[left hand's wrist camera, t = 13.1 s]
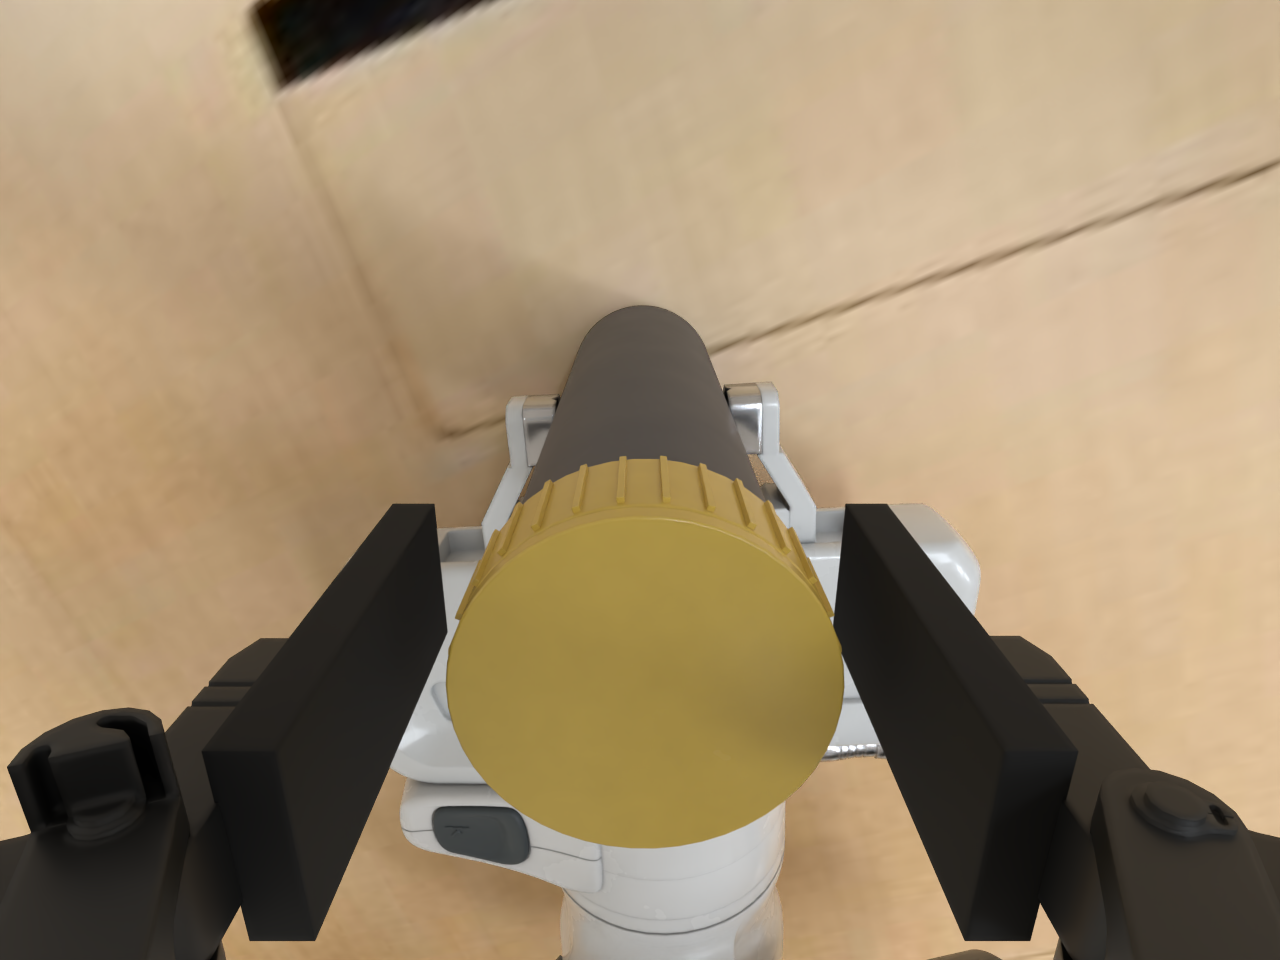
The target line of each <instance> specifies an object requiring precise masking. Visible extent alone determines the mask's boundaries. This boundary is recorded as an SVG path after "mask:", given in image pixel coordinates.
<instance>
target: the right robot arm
mask: <svg viewBox="0 0 1280 960" xmlns="http://www.w3.org/2000/svg"><path fill="white" fill-rule="evenodd" d="M723 394H724V396H725V399H726V402H727V404H728V407H729V409H730V412H731V414H732V417H733V419H734V422H735V425H736V427H737V430H738V432H739V435H740V437H741V440H742V443H743V445H744V448H745V450H746V453H747V454H757V455H758V457H759V459H760V460H761V462H762V464H763V465H764V467H765V468H766V470H767V471H768V473H769V475H770V476H771V478H772V479H773V481H774V483H766V484H763V485H762V486H761V487H760V489H761V491H762V494H763V496H764V499H765V502H766V501H767V500H769V501H770V502H771V503H772V504H773V507H774V509H775V512H776V514H777V515H778V517H779V518H780V519H781V520H782V522H783V523H784V524H785V526H786V527H787V528H788V529H789V528H791V527H793V528H794V530H795V531H796V534H797V536H798V538H799V540H800V543H801V545H802V547H803V549H804V552H805V554H806V556H807V558H808V557H809V558H810V561H811V563H812V565H813V567H814V570H815V572H816V574H817V576H818V578H819V581H820V583H821V585H822V587H823V590H824V592H825V594H826V596H827V599H828V601H829V603H830V605H831V608H832V610H833V612H834V610H835V600H836V591H837V581H838V572H839V562H840V553H841V543H842V534H843V524H844V514H845V507H832V508H816V505H815V503H814V501H813V499H812V497H811V496H810V494H809V492H808V490H807V488H806V486H805V484H804V483H803V481H802V479H801V477H800V476H799V474H798V473H797V471H796V469H795V468H794V466H793V464H792V463H791V461H790V460H789V458H788V456H787V455H786V453H785V452H784V450H783V448H782V447H781V445H780V444H779V428H780V404H779V397H778V391H777V389H776V388H775V386H774V385H773V383H772V382H760V383H743V384H729V385H724V387H723ZM559 402H560V395H559V394H558V395H534V396H527V395H525V396H515V397H511V399H510V400H509V402H508V404H507V405H506V430H507V438H508V446H509V454H510V463H509V465H508V467H507V469H506V471H505V473H504V476H503V478H502V480H501V482H500V484H499V486H498V489H497V491H496V493H495V495H494V497H493V499H492V502H491V504H490V506H489V508H488V510H487V512H486V514H485V517H484V519H483V521H482V523H481V525H482V526H470V527H451V528H437V534H438V543H439V553H440V562H441V572H442V581H443V591H444V601H445V610H446V620H447V629H448V633H447V635H446V638H445V640H444V642H443V645H442V647H441V649H440V652H439V654H438V656H437V659H436V661H435V663H434V666H433V668H432V670H431V673H430V675H429V677H428V679H427V682H426V684H425V686H424V689H423V691H422V693H421V696H420V698H419V700H418V703H417V705H416V707H415V710H414V712H413V714H412V717H411V719H410V721H409V724H408V726H407V728H406V731H405V733H404V735H403V738H402V740H401V742H400V745H399V747H398V749H397V752H396V754H395V756H394V759H393V761H392V763H391V766H390V768H391V769H392V770H394V771H395V772H397V773H399V774H401V775H403V776H405V777H407V779H406V782H405V787H404V791H403V796H402V800H401V805H400V812H399V813H400V823H401V828H402V831H403V834H404V836H405V837H406V839H407V840H408V841H409V842H410V843H411V844H413V845H414V846H416V847H418V848H420V849H423V850H426V851H430V852H434V853H439V854H444V855H449V856H454V857H460V858H464V859H469V860H474V861H478V862H483V863H487V864H491V865H495V866H499V867H503V868H506V869H510V870H514V871H517V872H520V873H524V874H527V875H530V876H533V877H536V878H539V879H541V880H544V881H546V882H549V883H552V884H554V885H557V886H559V887H561V888H562V890H563V892H564V897H563V902H562V907H561V915H560V938H561V947H562V955H563V957H562V956H561V955H560V956H559V957H558V958H557V959H556V960H783V936H784V923H783V912H782V905H781V901H780V897H779V893H778V890H777V887H776V882H777V880H778V877H779V874H780V871H781V867H782V863H783V858H784V848H785V801H784V802H783V803H781V804H780V805H779V806H777V807H776V808H774V809H773V810H772V811H770V812H769V813H768V814H766V815H764V816H763V817H761V818H759V819H757V820H756V821H754V822H752V823H750V824H748V825H747V826H744V827H742V828H740V829H737V830H735V831H733V832H730V833H728V834H726V835H723V836H719V837H716V838H713V839H710V840H706V841H703V842H698V843H693V844H688V845H683V846H677V847H667V848H656V849H647V848H623V847H614V846H606V845H601V844H596V843H592V842H587V841H583V840H580V839H577V838H574V837H571V836H567V835H564V834H562V833H559V832H557V831H555V830H552V829H550V828H548V827H546V826H543V825H541V824H539V823H538V822H536V821H534V820H533V819H531V818H529V817H527V816H526V815H524V814H522V813H521V812H519V811H518V810H517V809H515V808H514V807H513V806H511V805H510V804H509V803H507V802H506V801H505V800H503V799H502V798H501V797H500V796H499V795H498V794H497V793H496V792H495V791H494V790H493V789H492V788H491V787H490V786H489V785H488V784H487V783H486V782H485V781H484V780H483V778H482V777H481V776H480V775H479V773H478V772H477V771H476V770H475V768H474V767H473V766H472V764H471V762H470V761H469V759H468V757H467V756H466V754H465V752H464V751H463V749H462V747H461V745H460V742H459V740H458V738H457V735H456V733H455V731H454V728H453V724H452V721H451V717H450V713H449V709H448V703H447V693H446V670H447V660H448V656H449V655H448V648H449V646H450V644H451V641H452V639H453V636H454V634H455V631H456V629H457V626H458V624H459V621H460V620H457V619H455V616H456V613H457V611H458V608H459V606H460V604H461V601H462V599H463V597H464V594H465V592H466V590H467V587H468V585H469V583H470V580H471V578H472V576H473V573H474V571H475V569H476V566H477V564H478V562H479V560H481V559H482V557H483V554H484V552H485V550H486V547H487V545H488V542H489V540H490V538H491V535H492V533H493V532H494V530H495V529H497V530H498V531H500V530H501V529H502V527H503V526H504V525H505V523H506V522H507V521H508V520H509V518H510V517H511V515H512V512H513V510H514V507H515V505H516V504H517V503H518V502H521V503H522V501H523V499H524V496H522V497H521V498H520V499H519V500H518V498H519V496H520V493H521V491H522V489H523V487H524V485H525V483H526V481H527V478H528V476H529V474H530V472H531V470H532V468H533V466H536V464H537V461H538V458H539V456H540V453H541V450H542V448H543V445H544V442H545V439H546V437H547V434H548V431H549V429H550V426H551V423H552V421H553V418H554V415H555V413H556V410H557V407H558V405H559ZM888 506H889V507H890V508H891V510H892V511H893V512H894V514H895V515H896V516H897V517H898V519H899V520H900V521H901V523H902V524H903V525H904V526H905V528H906V529H907V530H908V532H909V533H910V534H911V535H912V537H913V538H914V539H915V541H916V542H917V543H918V544H919V546H920V547H921V548H922V550H923V551H924V552H925V554H926V555H927V556H928V557H929V559H930V560H931V561H932V563H933V564H934V565H935V566H936V568H937V569H938V570H939V572H940V573H941V574H942V575H943V577H944V578H945V579H946V581H947V582H948V583H949V584H950V586H951V587H952V588H953V590H954V591H955V592H956V594H957V595H958V596H959V597H960V599H961V600H962V601H963V603H964V604H965V605H966V606H967V608H968V609H969V610H970V612H971V613H972V614H973V615H974V614H975V609H976V604H977V599H978V594H979V587H980V580H981V571H980V566H979V562H978V560H977V558H976V556H975V554H974V552H973V551H972V550H971V548H970V547H969V545H968V544H967V543H966V541H965V540H964V539H963V538H962V536H961V535H960V534H959V533H958V532H957V530H956V529H955V528H954V527H953V526H952V525H951V524H950V523H948V522H947V521H946V520H945V519H944V518H943V517H942V516H941V515H940V514H939V513H937V512H936V511H935V510H934V509H933V508H931V507H930V506H928V505H926V504H921V503H907V504H888ZM357 550H358V549H357ZM353 555H354V554H353ZM353 555H352V556H353ZM352 556H351V557H352ZM351 557H350V558H349V560H350V559H351ZM349 560H348V561H349ZM348 561H347V562H346V564H347V563H348ZM346 564H345V565H346ZM345 565H344V566H345ZM343 568H344V567H343ZM343 568H342V569H343ZM340 572H341V571H340ZM340 572H339V573H340ZM830 620H831V622H832V625H833V620H834V616H833V617H830ZM842 659H843V656H842ZM843 664H844V687H845V688H844V696H843V704H842V710H841V714H840V717H839V721H838V725H837V728H836V731H835V734H834V736H833V738H832V740H831V742H830V745H829V747H828V749H827V751H826V753H825V754H824V756H823V758H822V759H821V761H820V762H830V761H838V760H839V759H840V760H844V759H847V758H848V759H849V758H854V757H855V758H857V757H862V756H863V757H874V758H876V759H886V756H885V754H884V752H883V749H882V747H881V745H880V742H879V740H878V738H877V735H876V733H875V731H874V728H873V726H872V724H871V721H870V719H869V717H868V714H867V712H866V710H865V707H864V705H863V703H862V700H861V698H860V696H859V693H858V691H857V689H856V687H855V684H854V682H853V680H852V677H851V675H850V673H849V670H848V668H847V666H846V663H845V661H844V659H843ZM928 960H1002V959H1000V958H998V957H996V956H995V955H993V954H991V953H988V952H986V951H982V950H968V951H963V952H959V953H955V954H950V955H946V956H941V957H937V958H933V959H928Z"/></svg>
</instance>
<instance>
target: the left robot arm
mask: <svg viewBox="0 0 1280 960" xmlns="http://www.w3.org/2000/svg"><path fill="white" fill-rule="evenodd" d="M833 627H834V630H835V632H836V635H837V637H838V639H839V642H840V644H841V646H842V652H841V654H842V656H843V659H844V661H845V663H846V666H847V668H848V670H849V673H850V675H851V677H852V680H853V682H854V684H855V687H856V689H857V691H858V693H859V696H860V698H861V700H862V703H863V705H864V707H865V710H866V712H867V714H868V717H869V719H870V721H871V724H872V726H873V728H874V731H875V733H876V735H877V738H878V740H879V742H880V745H881V747H882V749H883V752H884V754H885V756H886V759H887V761H888V763H889V766H890V768H891V770H892V773H893V775H894V777H895V780H896V782H897V784H898V787H899V789H900V791H901V794H902V796H903V798H904V801H905V803H906V805H907V807H908V810H909V812H910V814H911V817H912V819H913V821H914V824H915V826H916V828H917V831H918V833H919V835H920V838H921V840H922V842H923V845H924V847H925V849H926V852H927V854H928V856H929V859H930V861H931V863H932V866H933V868H934V870H935V873H936V875H937V877H938V880H939V882H940V884H941V887H942V889H943V891H944V894H945V896H946V898H947V901H948V903H949V905H950V908H951V910H952V912H953V914H954V917H955V919H956V921H957V924H958V926H959V928H960V931H961V933H962V935H963V938H964V940H965V941H1030V940H1031V936H1032V932H1033V928H1034V924H1035V920H1036V916H1037V913H1038V909H1039V905H1040V903H1041V905H1042V907H1043V909H1044V911H1045V912H1046V914H1047V916H1048V918H1049V920H1050V921H1051V923H1052V925H1053V927H1054V929H1055V930H1056V932H1057V934H1058V936H1059V940H1058V944H1057V948H1056V951H1055V955H1054V959H1053V960H1280V838H1279V837H1274V836H1270V835H1265V834H1261V833H1257V832H1253V831H1250V830H1248V829H1247V828H1246V826H1245V825H1244V823H1243V822H1242V821H1241V819H1240V818H1239V816H1238V815H1237V813H1236V812H1235V811H1233V810H1232V809H1231V808H1230V807H1229V806H1227V805H1226V804H1225V803H1224V802H1222V801H1221V800H1220V799H1219V798H1218V797H1216V796H1215V795H1214V794H1212V793H1210V792H1208V791H1207V790H1205V789H1203V788H1201V787H1199V786H1197V785H1195V784H1194V783H1192V782H1190V781H1188V780H1186V779H1183V778H1180V777H1177V776H1174V775H1171V774H1168V773H1165V772H1162V771H1157V770H1150V769H1149V767H1148V766H1147V765H1146V764H1145V763H1144V762H1143V761H1142V759H1141V758H1140V757H1139V756H1138V755H1137V754H1136V753H1135V751H1134V750H1133V749H1132V748H1131V747H1130V746H1129V745H1128V743H1127V742H1126V741H1125V740H1124V739H1123V738H1122V737H1121V735H1120V734H1119V733H1118V732H1117V731H1116V730H1115V728H1114V727H1113V726H1112V725H1111V724H1110V723H1109V722H1108V720H1107V719H1106V718H1105V717H1104V716H1103V715H1102V714H1101V712H1100V711H1099V710H1098V709H1097V708H1096V707H1095V706H1094V704H1089V699H1088V698H1087V696H1086V695H1085V694H1084V693H1083V692H1082V691H1081V690H1080V688H1079V687H1078V686H1077V685H1076V684H1072V679H1071V678H1070V677H1069V676H1068V675H1067V674H1066V672H1065V671H1064V670H1063V669H1062V668H1061V667H1060V666H1059V664H1058V663H1057V662H1056V661H1055V660H1054V659H1053V657H1052V656H1050V655H1049V654H1047V653H1046V652H1044V651H1043V650H1041V649H1039V648H1038V647H1036V646H1035V645H1033V644H1032V643H1030V642H1028V641H1027V640H1025V639H1024V638H1022V637H1021V636H989V635H988V634H987V632H986V631H985V630H984V628H983V627H982V626H981V624H980V623H979V622H978V621H977V619H976V618H975V617H974V615H973V614H972V613H971V612H970V610H969V609H968V608H967V606H966V605H965V604H964V603H963V601H962V600H961V599H960V597H959V596H958V595H957V594H956V592H955V591H954V590H953V588H952V587H951V586H950V584H949V583H948V582H947V581H946V579H945V578H944V577H943V575H942V574H941V573H940V572H939V570H938V569H937V568H936V566H935V565H934V564H933V563H932V561H931V560H930V559H929V557H928V556H927V555H926V554H925V552H924V551H923V550H922V548H921V547H920V546H919V544H918V543H917V542H916V541H915V539H914V538H913V537H912V535H911V534H910V533H909V532H908V530H907V529H906V528H905V526H904V525H903V524H902V523H901V521H900V520H899V519H898V517H897V516H896V515H895V514H894V512H893V511H892V510H891V508H890V507H889V506H888V504H846V505H845V514H844V524H843V534H842V543H841V553H840V562H839V572H838V581H837V591H836V600H835V610H834V620H833ZM447 633H448V629H447V620H446V610H445V601H444V591H443V581H442V572H441V562H440V553H439V543H438V534H437V524H436V515H435V505H434V504H392V506H391V507H390V508H389V510H388V511H387V512H386V513H385V515H384V516H383V517H382V519H381V520H380V521H379V523H378V524H377V525H376V526H375V528H374V529H373V530H372V532H371V533H370V534H369V535H368V537H367V538H366V539H365V541H364V542H363V543H362V544H361V546H360V547H359V548H358V550H357V551H356V552H355V553H354V555H353V556H352V557H351V559H350V560H349V561H348V563H347V564H346V565H345V566H344V568H343V569H342V570H341V572H340V573H339V574H338V575H337V577H336V578H335V579H334V581H333V582H332V583H331V584H330V586H329V587H328V588H327V590H326V591H325V592H324V593H323V595H322V596H321V597H320V599H319V600H318V601H317V603H316V604H315V605H314V606H313V608H312V609H311V610H310V612H309V613H308V614H307V615H306V617H305V618H304V619H303V621H302V622H301V623H300V624H299V626H298V627H297V628H296V630H295V631H294V632H293V633H292V635H291V636H290V637H289V638H261V639H259V640H257V641H256V642H254V643H253V644H251V645H250V646H248V647H247V648H245V649H243V650H242V651H240V652H239V653H237V654H236V655H234V656H232V657H231V658H229V659H228V661H227V662H226V663H225V664H224V665H223V666H222V668H221V669H220V670H219V671H218V672H217V673H216V674H215V676H214V677H213V678H212V679H211V680H210V681H209V686H208V687H204V688H203V689H202V691H201V692H200V693H199V694H198V695H197V696H196V698H195V699H194V700H193V701H192V706H191V707H187V708H186V709H185V710H184V711H183V712H182V714H181V715H180V716H179V717H178V718H177V719H176V721H175V722H174V723H173V724H172V725H171V726H170V727H169V729H168V730H167V731H166V732H164V728H163V725H162V721H161V719H160V718H158V717H157V716H156V715H154V714H153V713H152V712H150V711H148V710H141V709H135V708H120V709H111V710H102V711H99V712H95V713H92V714H89V715H85V716H82V717H78V718H75V719H72V720H70V721H68V722H66V723H64V724H62V725H60V726H57V727H55V728H53V729H51V730H49V731H47V732H45V733H43V734H42V735H41V736H39V737H38V738H37V739H35V740H34V741H32V742H31V743H30V744H28V745H27V746H25V747H24V748H23V749H21V750H20V752H19V753H18V754H17V755H16V757H15V758H14V759H13V760H12V761H11V763H10V764H9V765H8V766H7V769H8V771H9V774H10V777H11V779H12V782H13V785H14V788H15V790H16V793H17V796H18V798H19V801H20V804H21V806H22V809H23V812H24V814H25V817H26V820H27V823H28V825H29V828H30V831H31V834H28V835H25V836H21V837H16V838H12V839H8V840H3V841H0V960H226V957H225V951H224V948H223V944H222V938H223V936H224V934H225V933H226V931H227V929H228V927H229V925H230V924H231V922H232V920H233V918H234V916H235V915H236V913H237V911H238V909H239V907H240V905H241V909H242V913H243V917H244V920H245V924H246V928H247V932H248V936H249V940H250V941H315V940H316V938H317V935H318V933H319V931H320V928H321V926H322V924H323V921H324V919H325V917H326V914H327V912H328V910H329V907H330V905H331V903H332V900H333V898H334V896H335V894H336V891H337V889H338V887H339V884H340V882H341V880H342V877H343V875H344V873H345V870H346V868H347V866H348V863H349V861H350V859H351V856H352V854H353V852H354V849H355V847H356V845H357V842H358V840H359V838H360V835H361V833H362V831H363V828H364V826H365V824H366V821H367V819H368V817H369V814H370V812H371V810H372V807H373V805H374V803H375V800H376V798H377V796H378V793H379V791H380V789H381V787H382V784H383V782H384V780H385V777H386V775H387V773H388V770H389V768H390V766H391V763H392V761H393V759H394V756H395V754H396V752H397V749H398V747H399V745H400V742H401V740H402V738H403V735H404V733H405V731H406V728H407V726H408V724H409V721H410V719H411V717H412V714H413V712H414V710H415V707H416V705H417V703H418V700H419V698H420V696H421V693H422V691H423V689H424V686H425V684H426V682H427V679H428V677H429V675H430V673H431V670H432V668H433V666H434V663H435V661H436V659H437V656H438V654H439V652H440V649H441V647H442V645H443V642H444V640H445V638H446V635H447Z"/></svg>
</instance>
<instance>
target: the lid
mask: <svg viewBox="0 0 1280 960" xmlns="http://www.w3.org/2000/svg"><path fill="white" fill-rule="evenodd" d="M833 616H834V612H833V610H832V608H831V605H830V603H829V601H828V599H827V596H826V594H825V592H824V590H823V587H822V585H821V583H820V581H819V578H818V576H817V574H816V572H815V570H814V567H813V565H812V563H811V561H810V558H809V557H808V558H807V556H806V554H805V552H804V549H803V547H802V545H801V543H800V540H799V538H798V536H797V534H796V531H795V530H794V528H793V527H791V528H789V529H788V528H787V527H786V526H785V524H784V523H783V522H782V520H781V519H780V518H779V517H778V515H777V514H776V512H775V509H774V507H773V504H772V503H771V502H770V501H769V500H767V501H766V502H765V503H764V502H763V501H762V500H761V499H760V498H758V497H757V496H756V495H754V494H753V493H752V492H750V491H749V490H748V489H746V488H745V487H744V486H743V483H742V481H741V480H739V479H738V478H736V479H735V481H732V480H731V479H729V478H727V477H725V476H723V475H720V474H718V473H715V472H713V471H710V470H708V469H707V466H706V465H705V464H702V463H700V464H699V466H694V465H690V464H687V463H683V462H676V461H669V460H667V456H660V459H629V460H627V457H626V456H621V457H619V461H612V462H607V463H603V464H599V465H595V466H591V467H588V466H587V464H584V465H581V466H580V470H579V471H577V472H574V473H572V474H569V475H566V476H564V477H563V478H561V479H559V480H557V481H555V482H552V481H551V480H548V481H547V482H545V484H544V487H543V489H542V490H541V491H539V492H538V493H536V494H535V495H534V496H532V497H531V498H530V499H528V500H527V501H526V502H525V503H524V504H522V503H521V502H518V503H517V504H516V505H515V507H514V510H513V512H512V515H511V517H510V518H509V520H508V521H507V522H506V523H505V525H504V526H503V527H502V529H501V530H500V531H498V530H497V529H495V530H494V532H493V533H492V535H491V538H490V540H489V542H488V545H487V547H486V550H485V552H484V554H483V557H482V559H481V560H479V562H478V564H477V566H476V569H475V571H474V573H473V576H472V578H471V580H470V583H469V585H468V587H467V590H466V592H465V594H464V597H463V599H462V601H461V604H460V606H459V608H458V611H457V613H456V616H455V619H457V620H460V621H459V624H458V626H457V629H456V631H455V634H454V636H453V639H452V641H451V644H450V646H449V648H448V655H449V656H448V660H447V670H446V693H447V703H448V709H449V713H450V717H451V721H452V724H453V728H454V731H455V733H456V735H457V738H458V740H459V742H460V745H461V747H462V749H463V751H464V752H465V754H466V756H467V757H468V759H469V761H470V762H471V764H472V766H473V767H474V768H475V770H476V771H477V772H478V773H479V775H480V776H481V777H482V778H483V780H484V781H485V782H486V783H487V784H488V785H489V786H490V787H491V788H492V789H493V790H494V791H495V792H496V793H497V794H498V795H499V796H500V797H501V798H502V799H503V800H505V801H506V802H507V803H509V804H510V805H511V806H513V807H514V808H515V809H517V810H518V811H519V812H521V813H522V814H524V815H526V816H527V817H529V818H531V819H533V820H534V821H536V822H538V823H539V824H541V825H543V826H546V827H548V828H550V829H552V830H555V831H557V832H559V833H562V834H564V835H567V836H571V837H574V838H577V839H580V840H583V841H587V842H592V843H596V844H601V845H606V846H614V847H623V848H647V849H656V848H667V847H677V846H683V845H688V844H693V843H698V842H703V841H706V840H710V839H713V838H716V837H719V836H723V835H726V834H728V833H730V832H733V831H735V830H737V829H740V828H742V827H744V826H747V825H748V824H750V823H752V822H754V821H756V820H757V819H759V818H761V817H763V816H764V815H766V814H768V813H769V812H770V811H772V810H773V809H774V808H776V807H777V806H779V805H780V804H781V803H783V802H784V801H785V800H786V799H787V798H789V797H790V796H791V795H792V794H793V793H794V792H795V791H796V790H797V789H798V788H799V787H801V785H802V784H803V783H804V782H805V781H806V779H807V778H808V777H809V776H810V775H811V774H812V772H813V771H814V770H815V769H816V767H817V765H818V764H819V762H820V761H821V759H822V758H823V756H824V754H825V753H826V751H827V749H828V747H829V745H830V742H831V740H832V738H833V736H834V734H835V731H836V728H837V725H838V721H839V717H840V714H841V710H842V704H843V696H844V688H845V687H844V664H843V659H842V654H841V652H842V646H841V644H840V642H839V639H838V637H837V635H836V632H835V630H834V627H833V625H832V622H831V620H830V617H833Z"/></svg>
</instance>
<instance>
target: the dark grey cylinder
mask: <svg viewBox="0 0 1280 960" xmlns="http://www.w3.org/2000/svg"><path fill="white" fill-rule="evenodd" d="M621 456H626V457H627V460H629V459H660V456H667V460H669V461H676V462H683V463H687V464H690V465H694V466H699V464H700V463H702V464H705V465H706V466H707V469H708V470H710V471H713V472H715V473H718V474H720V475H723V476H725V477H727V478H729V479H731V480H732V481H735V479H736V478H738V479H739V480H741V481H742V483H743V486H744V487H745V488H746V489H748V490H749V491H750V492H752V493H753V494H754V495H756V496H757V497H758V498H760V499H761V500H762V501H763V502H764V503H765V499H764V496H763V494H762V491H761V489H760V486H759V484H758V481H757V478H756V476H755V473H754V471H753V468H752V466H751V463H750V461H749V458H748V455H747V453H746V450H745V448H744V445H743V443H742V440H741V437H740V435H739V432H738V430H737V427H736V425H735V422H734V419H733V417H732V414H731V412H730V409H729V407H728V404H727V402H726V399H725V396H724V394H723V391H722V389H721V386H720V384H719V381H718V378H717V376H716V373H715V371H714V368H713V366H712V363H711V360H710V358H709V355H708V353H707V350H706V348H705V345H704V343H703V341H702V339H701V338H700V336H699V335H698V333H697V332H696V331H695V329H694V328H693V327H692V326H691V325H690V324H689V323H688V322H686V321H685V320H684V319H683V318H681V317H680V316H678V315H676V314H675V313H673V312H670V311H668V310H666V309H662V308H659V307H653V306H632V307H627V308H623V309H620V310H617V311H615V312H613V313H611V314H609V315H607V316H606V317H604V318H603V319H601V320H600V321H599V322H598V323H596V324H595V325H594V327H593V328H592V329H591V330H590V331H589V332H588V334H587V335H586V336H585V338H584V340H583V342H582V344H581V346H580V348H579V351H578V353H577V356H576V359H575V362H574V364H573V367H572V370H571V372H570V375H569V378H568V380H567V383H566V386H565V388H564V391H563V394H562V396H561V399H560V402H559V405H558V407H557V410H556V413H555V415H554V418H553V421H552V423H551V426H550V429H549V431H548V434H547V437H546V439H545V442H544V445H543V448H542V450H541V453H540V456H539V458H538V461H537V464H536V466H535V469H534V472H533V474H532V477H531V480H530V482H529V485H528V488H527V491H526V493H525V496H524V499H523V501H522V504H524V503H525V502H526V501H527V500H528V499H530V498H531V497H532V496H534V495H535V494H536V493H538V492H539V491H541V490H542V489H543V487H544V484H545V482H547V481H548V480H551V481H552V482H555V481H557V480H559V479H561V478H563V477H564V476H566V475H569V474H572V473H574V472H577V471H579V470H580V466H581V465H584V464H587V466H588V467H591V466H595V465H599V464H603V463H607V462H612V461H619V457H621Z"/></svg>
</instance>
